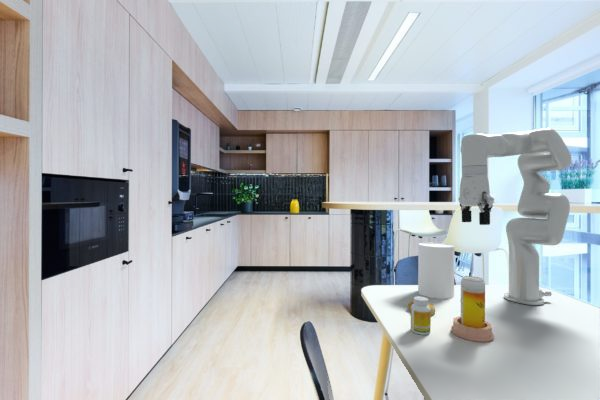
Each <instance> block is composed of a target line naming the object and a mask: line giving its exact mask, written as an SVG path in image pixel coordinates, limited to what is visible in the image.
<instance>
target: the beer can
mask: <svg viewBox="0 0 600 400" xmlns="http://www.w3.org/2000/svg"><path fill="white" fill-rule="evenodd" d="M484 280H485V279H484V278H483V277H479V276H471V275H465V276H462V278H461V280H460V317H461V324H462V325H465V326H468V327H473V328H485V321H486V282H485V281H484Z"/></svg>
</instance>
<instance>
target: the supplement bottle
mask: <svg viewBox="0 0 600 400" xmlns="http://www.w3.org/2000/svg"><path fill="white" fill-rule="evenodd" d="M413 300H414V301H413V302H414V304H412V306H411V311H410V331H411V332H412V333H414V334H417V335H421V336H424V335H425V336H426V335H429V334H430V333H431V326H432V325H431V323H432V322H431V321H432V320H431V318H432V317H431V309H430V307H429V306H428V303H429V297H426V296H421V295H420V296H419V295H417V296H414V297H413Z"/></svg>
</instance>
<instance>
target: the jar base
mask: <svg viewBox="0 0 600 400" xmlns="http://www.w3.org/2000/svg"><path fill="white" fill-rule="evenodd" d="M452 320H453V321H452V323H453V325H452V326H451V328H450V329H451V333H452V334H453V335H454V336H456V337H458V338H461V339H463V340H466V341H469V342H475V343H489V342H493V340H494V339H495V335H494V332H493V331H492V330H493V327H492V324H491V323H489V321H486V320H485V328H473V327H468V326H465V325H462V324H461V316H456V317H453V319H452Z"/></svg>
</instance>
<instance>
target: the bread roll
mask: <svg viewBox="0 0 600 400" xmlns="http://www.w3.org/2000/svg"><path fill="white" fill-rule="evenodd" d="M413 301H414V299H412V300H411V301H410V302H409V303H408V305H407V307H408V309H409V311H410V312H411V306H412V304H414V302H413ZM428 306H429V307H430V309H431V316H434V315H435V314H436V308H435V306H434V305H432V304H431V303H430V302H428Z"/></svg>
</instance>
